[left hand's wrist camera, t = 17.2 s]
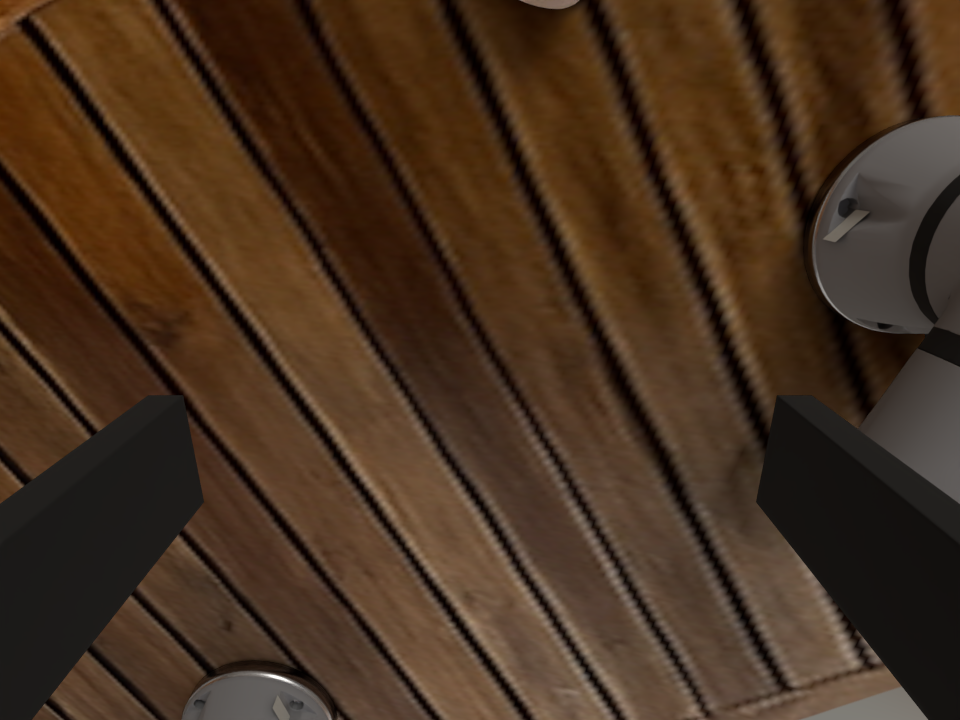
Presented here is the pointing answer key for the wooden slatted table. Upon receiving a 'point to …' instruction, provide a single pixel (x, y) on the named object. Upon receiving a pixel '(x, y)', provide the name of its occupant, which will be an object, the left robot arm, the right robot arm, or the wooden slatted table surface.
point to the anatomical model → (551, 3)
